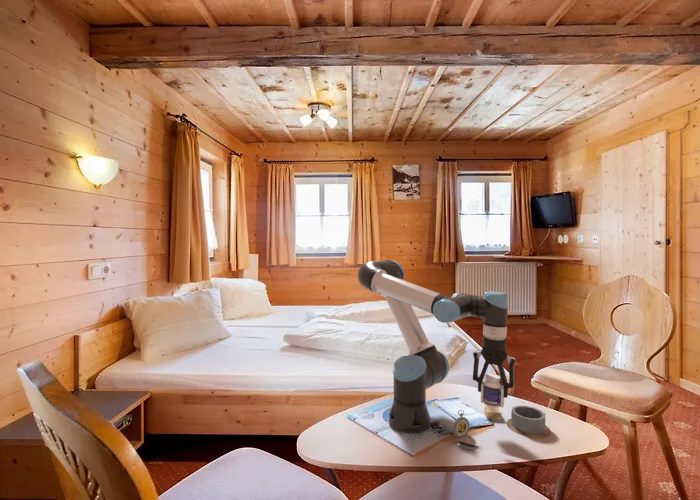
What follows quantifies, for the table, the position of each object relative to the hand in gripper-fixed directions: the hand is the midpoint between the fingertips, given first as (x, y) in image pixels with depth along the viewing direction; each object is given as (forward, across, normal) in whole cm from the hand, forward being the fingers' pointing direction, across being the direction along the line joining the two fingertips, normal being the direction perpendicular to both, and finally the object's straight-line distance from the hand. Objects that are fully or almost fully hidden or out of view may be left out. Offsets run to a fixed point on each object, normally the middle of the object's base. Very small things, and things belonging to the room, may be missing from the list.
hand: (492, 403), depth 125 cm
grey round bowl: (+9, +11, +9) cm, 17 cm away
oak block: (+11, -1, +11) cm, 15 cm away
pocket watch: (+11, -6, -10) cm, 16 cm away
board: (+10, +11, +9) cm, 17 cm away
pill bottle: (+1, 0, 0) cm, 1 cm away
